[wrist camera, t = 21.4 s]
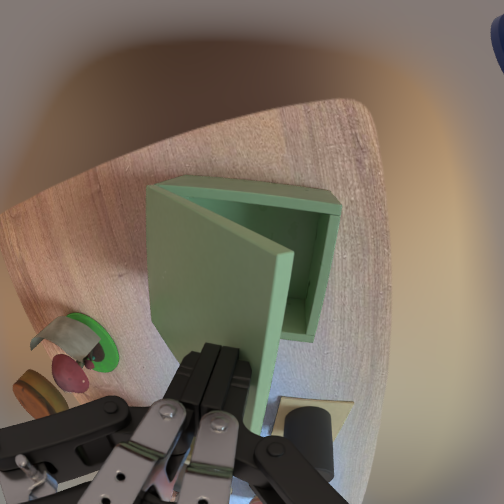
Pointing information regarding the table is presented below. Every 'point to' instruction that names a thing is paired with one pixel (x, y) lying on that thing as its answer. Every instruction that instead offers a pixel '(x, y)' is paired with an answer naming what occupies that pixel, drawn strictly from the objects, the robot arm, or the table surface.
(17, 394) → the mushroom figurine
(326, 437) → the dark grey cylinder
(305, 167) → the table surface
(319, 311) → the green open box
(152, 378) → the table surface
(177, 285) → the box lid
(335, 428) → the mat
